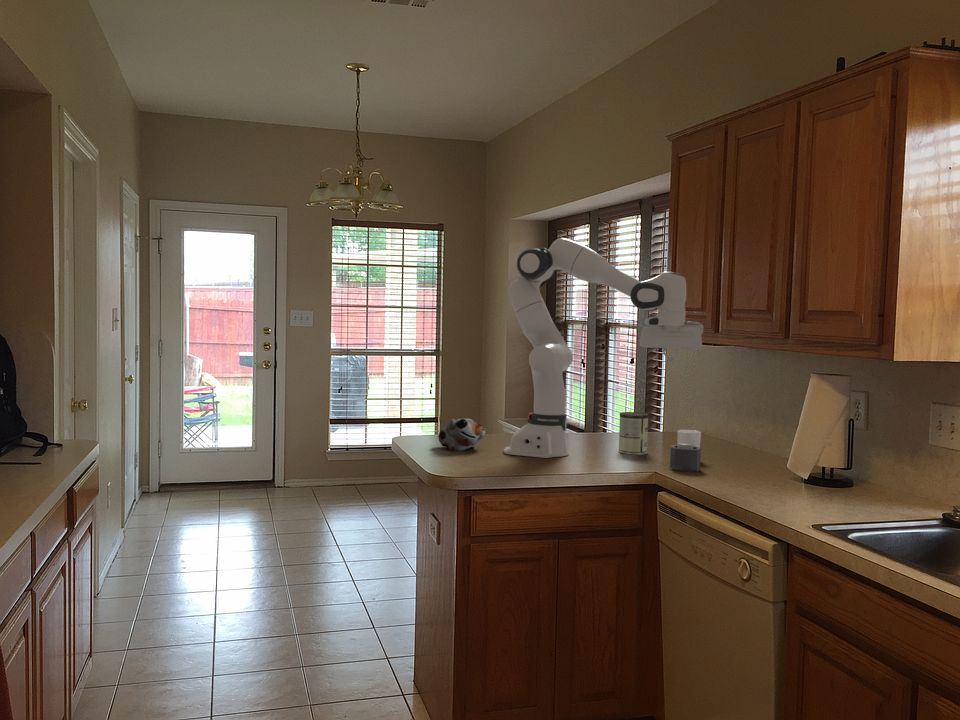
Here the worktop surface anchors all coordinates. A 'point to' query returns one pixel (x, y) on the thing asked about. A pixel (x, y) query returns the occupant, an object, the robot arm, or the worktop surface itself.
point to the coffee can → (633, 433)
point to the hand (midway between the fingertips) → (669, 362)
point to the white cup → (689, 437)
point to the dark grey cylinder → (685, 458)
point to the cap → (684, 446)
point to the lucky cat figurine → (461, 434)
